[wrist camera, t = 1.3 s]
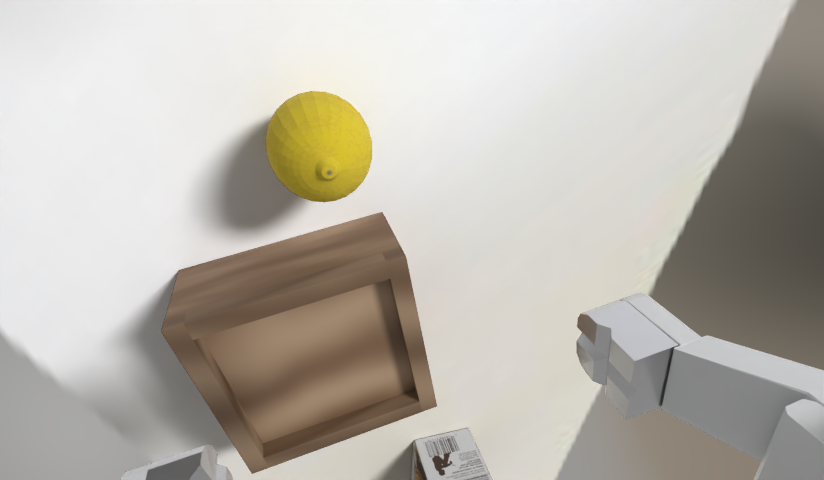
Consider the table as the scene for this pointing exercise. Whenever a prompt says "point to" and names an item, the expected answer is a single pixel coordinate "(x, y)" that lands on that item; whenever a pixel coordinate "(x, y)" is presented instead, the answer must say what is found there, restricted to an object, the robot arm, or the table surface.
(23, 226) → the table surface
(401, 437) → the table surface
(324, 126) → the lemon
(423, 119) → the table surface
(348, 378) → the walnut base
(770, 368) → the robot arm
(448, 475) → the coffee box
